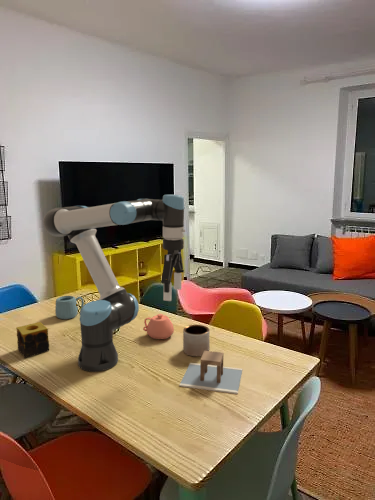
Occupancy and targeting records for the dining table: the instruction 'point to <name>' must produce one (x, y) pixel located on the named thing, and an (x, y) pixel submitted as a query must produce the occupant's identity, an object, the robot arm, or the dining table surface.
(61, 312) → the mug
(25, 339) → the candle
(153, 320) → the sugar bowl
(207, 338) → the planter
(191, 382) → the rug
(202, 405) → the dining table surface
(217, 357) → the stool
